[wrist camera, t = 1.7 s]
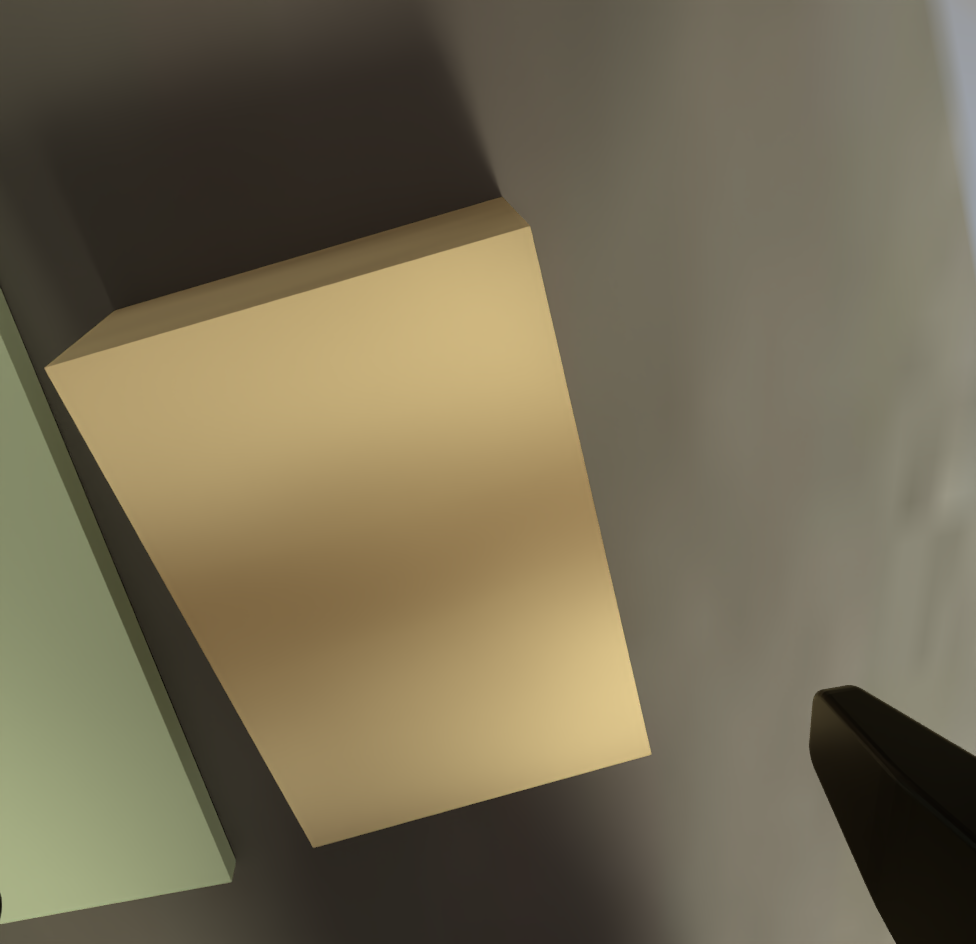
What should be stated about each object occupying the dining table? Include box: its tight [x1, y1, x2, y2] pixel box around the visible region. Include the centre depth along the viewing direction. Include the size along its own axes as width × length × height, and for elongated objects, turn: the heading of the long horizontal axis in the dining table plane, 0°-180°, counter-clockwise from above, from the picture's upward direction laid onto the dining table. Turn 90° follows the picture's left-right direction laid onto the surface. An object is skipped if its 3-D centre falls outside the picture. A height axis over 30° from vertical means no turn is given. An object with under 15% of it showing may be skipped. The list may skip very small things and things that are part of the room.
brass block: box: [44, 197, 651, 848], centre depth 13 cm, size 9×6×3 cm, turn 15°
